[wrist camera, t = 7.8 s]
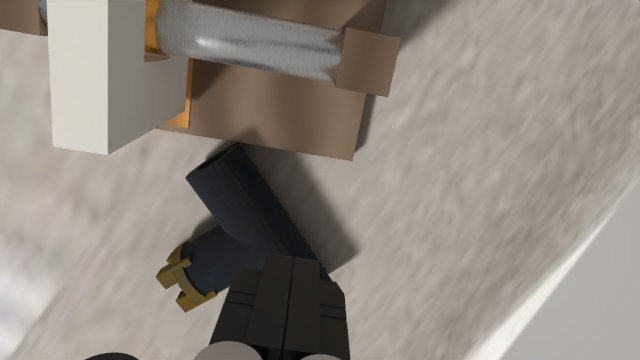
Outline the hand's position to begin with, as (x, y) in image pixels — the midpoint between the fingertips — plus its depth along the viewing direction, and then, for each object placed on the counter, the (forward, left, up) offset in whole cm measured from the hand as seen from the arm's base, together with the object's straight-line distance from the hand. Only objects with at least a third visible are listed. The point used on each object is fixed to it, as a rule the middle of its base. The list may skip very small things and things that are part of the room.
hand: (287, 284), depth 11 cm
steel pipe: (+7, -6, -16) cm, 19 cm away
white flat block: (+10, -6, -21) cm, 24 cm away
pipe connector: (+4, +12, -24) cm, 27 cm away
